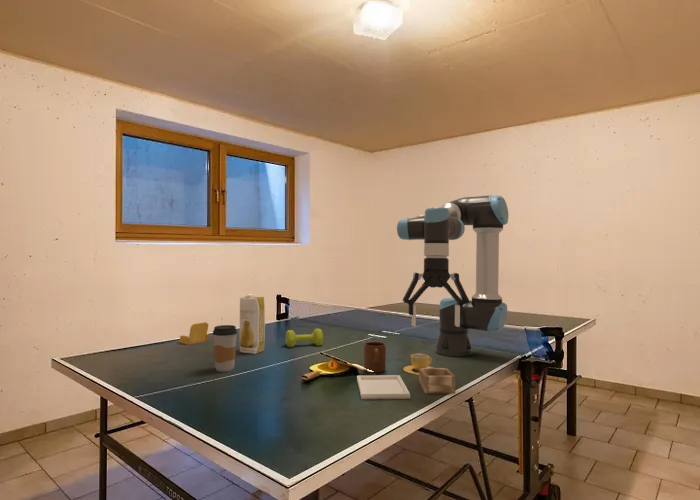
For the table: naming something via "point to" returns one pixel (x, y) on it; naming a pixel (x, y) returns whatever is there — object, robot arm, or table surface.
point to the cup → (418, 363)
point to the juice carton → (252, 324)
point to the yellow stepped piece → (196, 334)
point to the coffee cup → (224, 347)
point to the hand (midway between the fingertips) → (435, 326)
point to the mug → (375, 356)
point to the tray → (382, 387)
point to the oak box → (436, 380)
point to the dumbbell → (304, 337)
